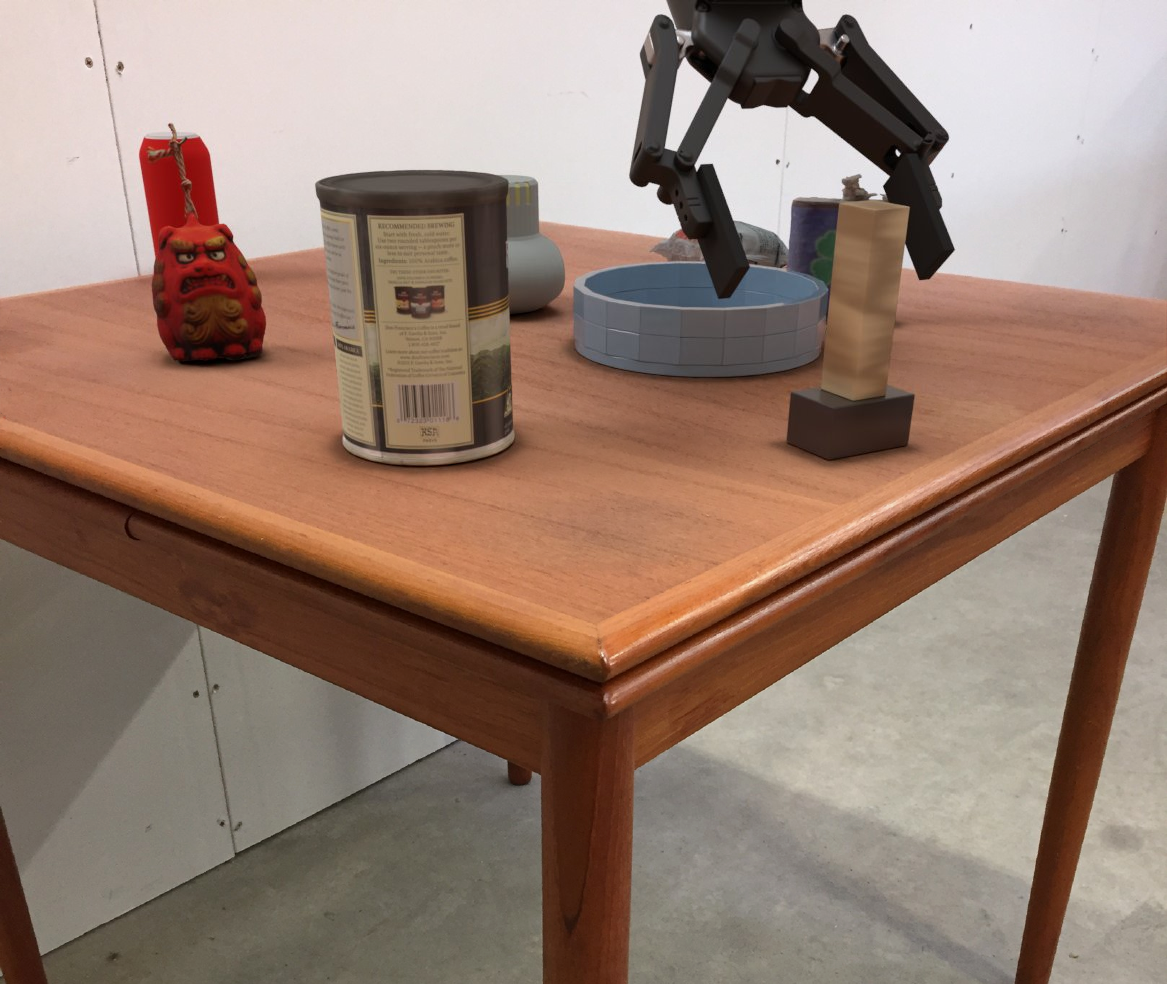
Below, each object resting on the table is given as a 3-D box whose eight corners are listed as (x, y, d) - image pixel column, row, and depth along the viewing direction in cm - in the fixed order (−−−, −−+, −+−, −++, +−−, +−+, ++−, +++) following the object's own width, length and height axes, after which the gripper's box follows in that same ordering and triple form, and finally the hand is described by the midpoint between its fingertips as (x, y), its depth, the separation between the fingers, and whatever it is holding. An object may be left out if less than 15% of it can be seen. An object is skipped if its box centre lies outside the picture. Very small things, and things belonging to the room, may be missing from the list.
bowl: (842, 331, 100) (849, 270, 98) (789, 387, 85) (795, 318, 83) (622, 312, 106) (623, 255, 103) (536, 362, 91) (535, 297, 89)
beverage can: (203, 268, 122) (183, 129, 116) (239, 277, 119) (220, 134, 112) (146, 276, 118) (122, 133, 112) (181, 285, 115) (158, 138, 108)
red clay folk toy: (170, 371, 88) (131, 131, 81) (154, 350, 94) (115, 123, 86) (278, 360, 91) (250, 127, 83) (256, 340, 97) (228, 120, 89)
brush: (863, 428, 77) (891, 196, 71) (908, 445, 74) (942, 205, 68) (785, 442, 75) (806, 203, 68) (828, 460, 72) (855, 213, 65)
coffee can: (463, 407, 81) (452, 164, 74) (547, 448, 74) (544, 183, 66) (312, 431, 76) (285, 174, 69) (386, 478, 69) (364, 196, 61)
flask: (779, 316, 104) (791, 174, 99) (786, 310, 107) (798, 170, 101) (892, 325, 102) (911, 179, 96) (897, 318, 104) (915, 175, 99)
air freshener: (572, 318, 104) (572, 184, 99) (475, 325, 101) (470, 188, 96) (531, 293, 112) (529, 169, 107) (441, 299, 110) (435, 173, 105)
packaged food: (716, 292, 113) (720, 233, 110) (647, 271, 122) (649, 215, 119) (794, 285, 116) (800, 227, 114) (722, 265, 125) (725, 211, 123)
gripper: (865, 14, 83) (977, 297, 79) (511, 15, 74) (618, 333, 70) (928, -88, 76) (1053, 216, 72) (545, -100, 67) (665, 245, 63)
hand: (839, 274), depth 71 cm, fingers open, 13 cm apart
